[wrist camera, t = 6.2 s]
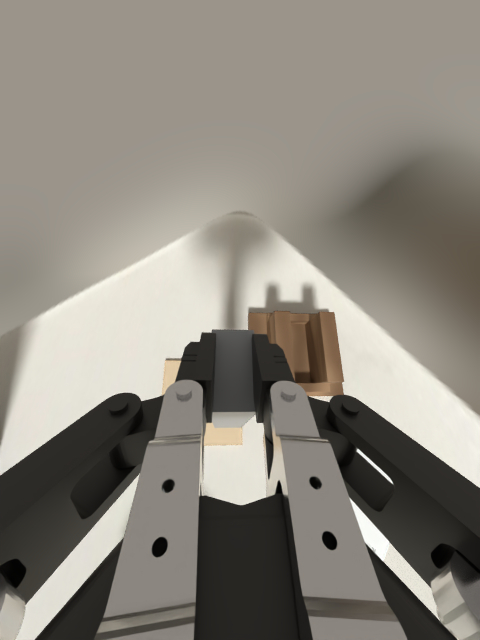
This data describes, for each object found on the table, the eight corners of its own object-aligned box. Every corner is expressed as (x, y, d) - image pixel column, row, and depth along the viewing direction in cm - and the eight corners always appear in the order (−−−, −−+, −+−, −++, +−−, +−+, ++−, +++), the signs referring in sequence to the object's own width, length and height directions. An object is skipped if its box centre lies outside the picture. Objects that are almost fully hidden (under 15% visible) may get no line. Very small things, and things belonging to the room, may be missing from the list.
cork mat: (157, 446, 27) (157, 446, 27) (165, 360, 30) (165, 360, 30) (242, 444, 28) (242, 444, 27) (241, 361, 31) (241, 360, 30)
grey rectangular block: (214, 428, 19) (208, 412, 10) (216, 379, 21) (212, 329, 12) (240, 427, 19) (258, 411, 10) (240, 380, 21) (254, 330, 12)
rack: (249, 396, 29) (256, 397, 24) (248, 315, 33) (253, 298, 27) (339, 395, 30) (367, 396, 24) (328, 317, 34) (351, 301, 28)
